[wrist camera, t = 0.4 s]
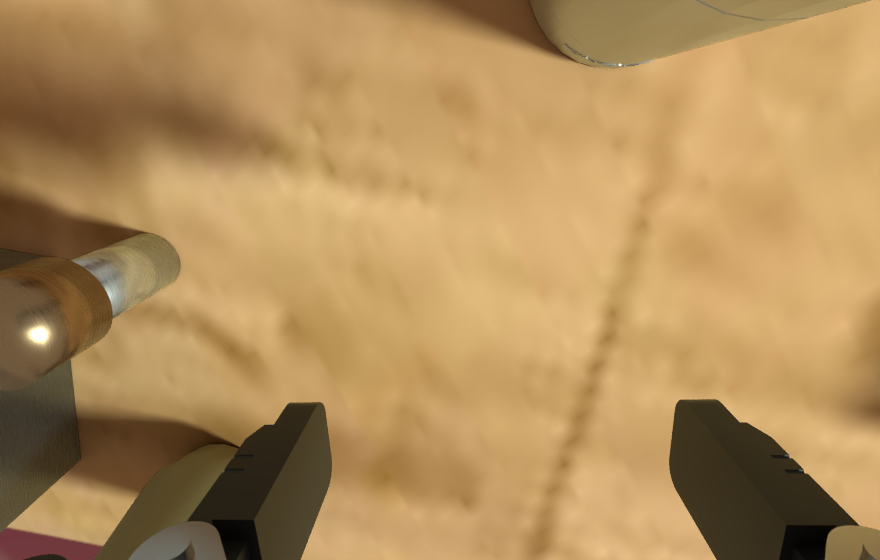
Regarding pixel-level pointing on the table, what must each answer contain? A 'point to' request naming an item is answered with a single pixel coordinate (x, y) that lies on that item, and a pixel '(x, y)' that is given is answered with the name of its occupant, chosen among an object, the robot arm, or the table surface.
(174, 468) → the squeeze bottle
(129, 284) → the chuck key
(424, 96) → the table surface
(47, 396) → the block
